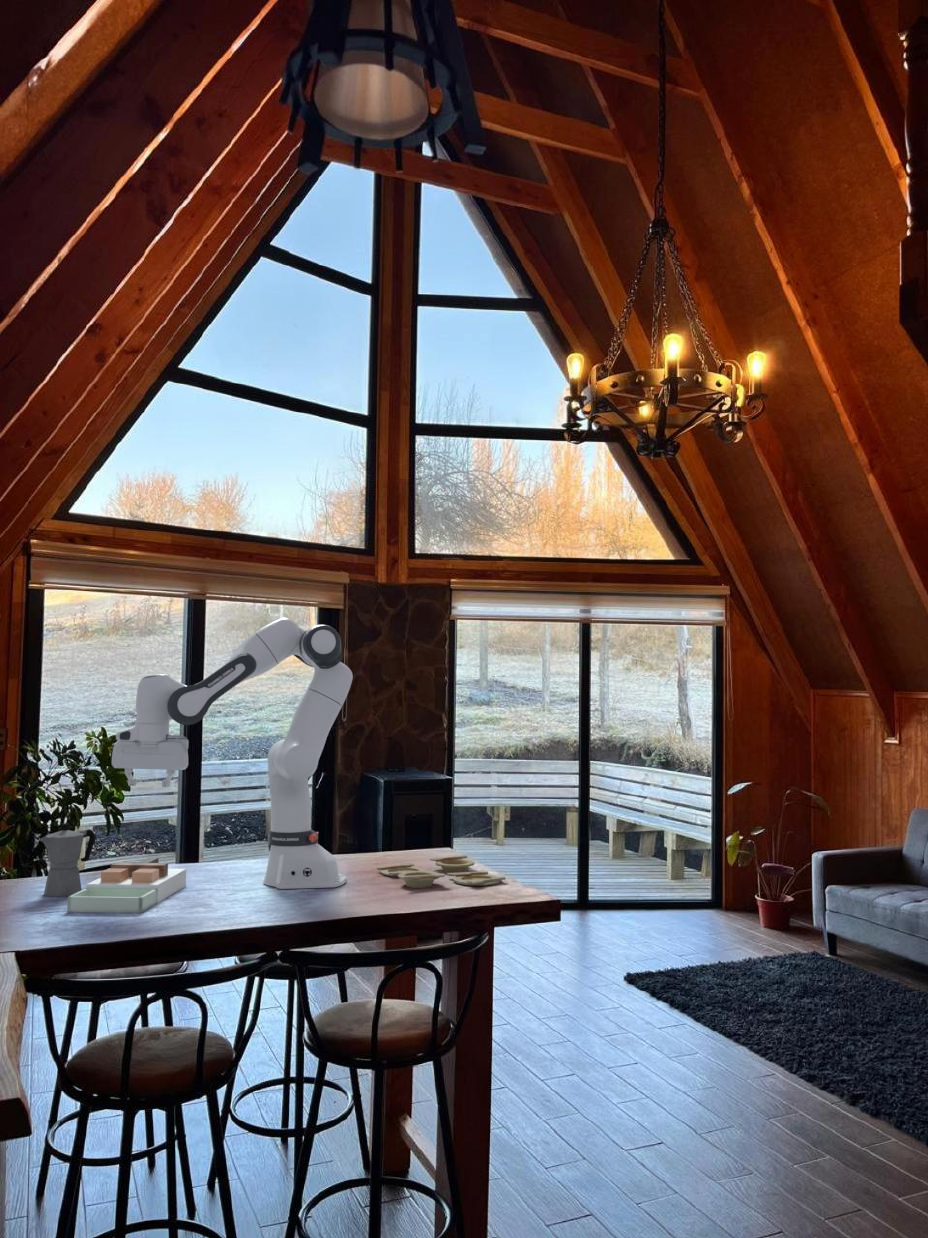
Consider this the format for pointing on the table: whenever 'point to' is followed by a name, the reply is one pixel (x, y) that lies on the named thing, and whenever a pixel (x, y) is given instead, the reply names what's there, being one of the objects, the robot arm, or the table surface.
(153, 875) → the tile
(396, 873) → the tableware set
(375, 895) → the table surface
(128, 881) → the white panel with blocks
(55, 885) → the coffeepot
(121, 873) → the tile
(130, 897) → the box
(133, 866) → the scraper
